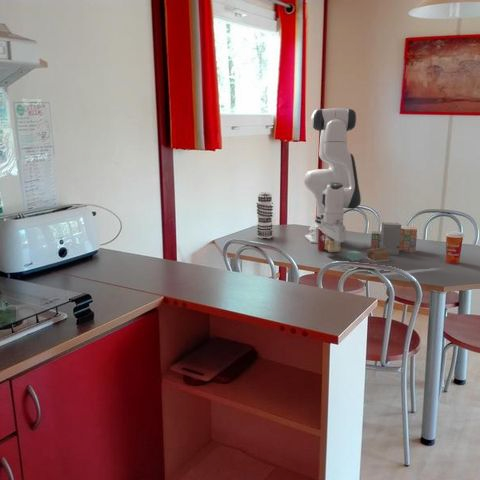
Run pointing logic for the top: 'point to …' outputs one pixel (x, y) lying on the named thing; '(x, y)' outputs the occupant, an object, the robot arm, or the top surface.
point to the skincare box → (390, 237)
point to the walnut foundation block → (377, 254)
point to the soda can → (321, 241)
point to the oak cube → (331, 245)
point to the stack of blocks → (406, 239)
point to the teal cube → (354, 255)
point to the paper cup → (453, 246)
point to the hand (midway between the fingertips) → (332, 246)
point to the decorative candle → (264, 215)
